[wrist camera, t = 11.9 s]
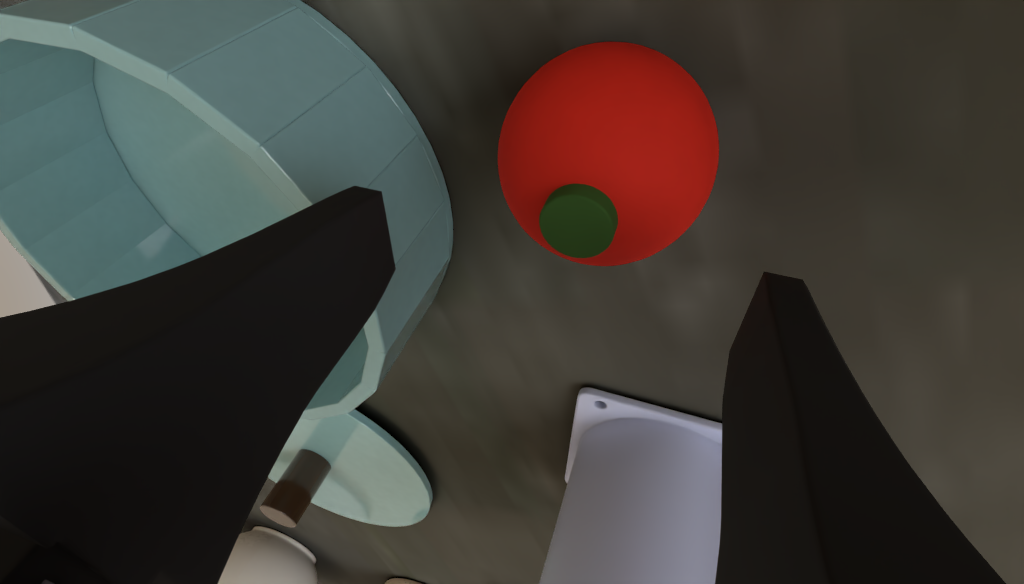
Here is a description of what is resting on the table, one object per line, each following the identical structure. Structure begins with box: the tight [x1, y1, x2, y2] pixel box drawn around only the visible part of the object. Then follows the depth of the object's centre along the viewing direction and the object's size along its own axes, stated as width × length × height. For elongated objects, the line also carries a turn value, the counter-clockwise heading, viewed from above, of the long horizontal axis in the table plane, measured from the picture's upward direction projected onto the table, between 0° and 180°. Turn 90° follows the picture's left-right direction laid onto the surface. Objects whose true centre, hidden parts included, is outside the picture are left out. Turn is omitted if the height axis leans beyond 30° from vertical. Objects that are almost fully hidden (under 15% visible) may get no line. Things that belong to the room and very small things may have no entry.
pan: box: [0, 0, 453, 420], centre depth 20 cm, size 15×15×6 cm
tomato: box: [498, 42, 719, 266], centre depth 13 cm, size 5×5×6 cm
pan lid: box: [260, 409, 433, 527], centre depth 35 cm, size 16×16×5 cm
